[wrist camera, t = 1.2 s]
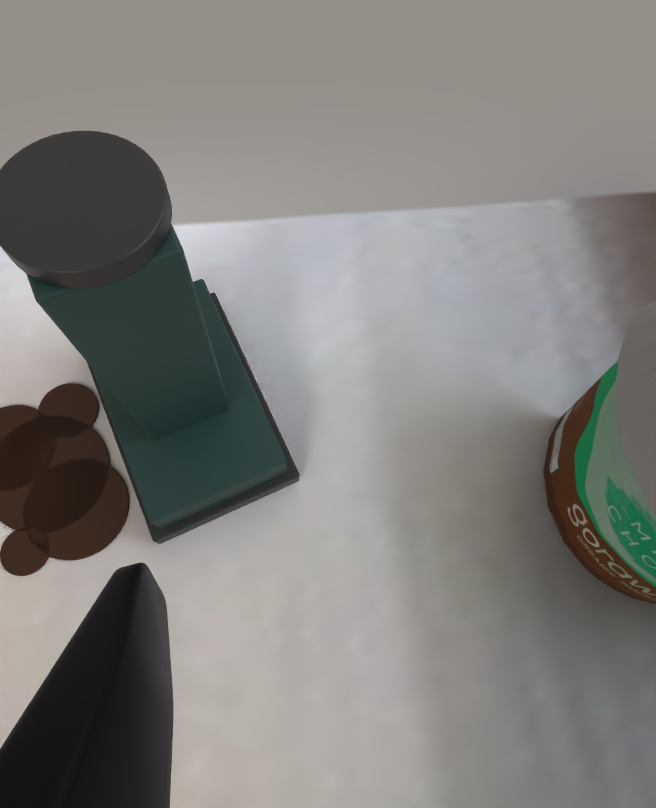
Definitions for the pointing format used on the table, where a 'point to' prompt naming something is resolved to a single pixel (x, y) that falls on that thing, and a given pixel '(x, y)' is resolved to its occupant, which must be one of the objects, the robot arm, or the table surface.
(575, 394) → the table surface
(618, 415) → the food container
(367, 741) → the table surface
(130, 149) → the wiper
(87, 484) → the coffee spill
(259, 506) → the table surface
